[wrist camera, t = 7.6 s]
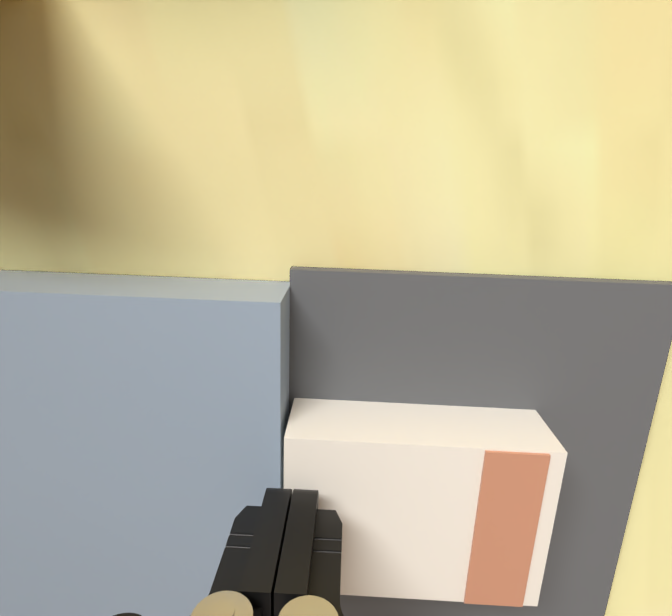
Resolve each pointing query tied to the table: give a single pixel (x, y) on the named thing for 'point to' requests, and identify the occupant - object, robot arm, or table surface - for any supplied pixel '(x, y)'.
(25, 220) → the table surface
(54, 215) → the table surface
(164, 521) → the light blue flat block
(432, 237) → the table surface
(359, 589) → the striped white eraser
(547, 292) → the mat
